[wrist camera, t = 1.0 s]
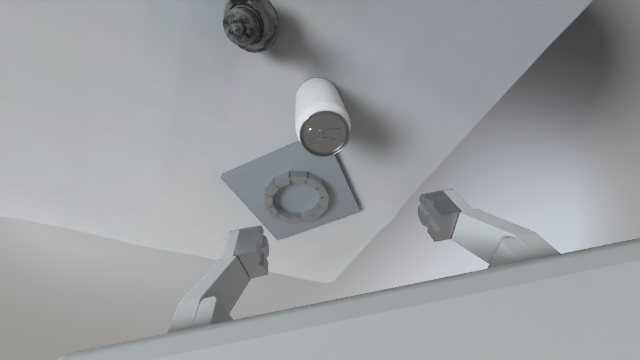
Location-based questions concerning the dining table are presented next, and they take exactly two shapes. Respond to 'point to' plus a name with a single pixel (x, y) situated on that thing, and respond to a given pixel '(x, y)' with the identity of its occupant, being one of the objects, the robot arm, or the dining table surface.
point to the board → (292, 188)
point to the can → (321, 118)
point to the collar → (298, 178)
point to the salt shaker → (251, 24)
